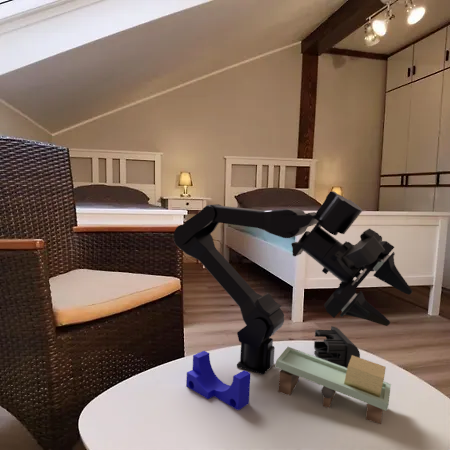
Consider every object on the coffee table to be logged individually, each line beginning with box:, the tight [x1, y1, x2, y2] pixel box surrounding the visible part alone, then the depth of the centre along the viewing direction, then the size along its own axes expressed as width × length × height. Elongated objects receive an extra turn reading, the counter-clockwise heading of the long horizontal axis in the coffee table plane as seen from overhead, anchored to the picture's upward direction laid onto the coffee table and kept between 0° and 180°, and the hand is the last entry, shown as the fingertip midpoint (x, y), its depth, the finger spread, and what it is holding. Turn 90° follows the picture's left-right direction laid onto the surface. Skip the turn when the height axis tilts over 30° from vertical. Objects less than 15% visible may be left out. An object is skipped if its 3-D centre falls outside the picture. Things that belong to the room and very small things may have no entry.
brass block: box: [344, 355, 386, 398], centre depth 66 cm, size 6×5×4 cm
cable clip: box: [185, 350, 252, 411], centre depth 69 cm, size 12×4×6 cm, turn 48°
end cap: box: [313, 325, 361, 368], centre depth 84 cm, size 10×7×7 cm
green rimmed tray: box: [274, 346, 392, 412], centre depth 69 cm, size 20×7×2 cm, turn 63°
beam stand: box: [277, 369, 384, 425], centre depth 69 cm, size 18×7×4 cm, turn 63°
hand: (400, 308), depth 65 cm, fingers open, 9 cm apart
